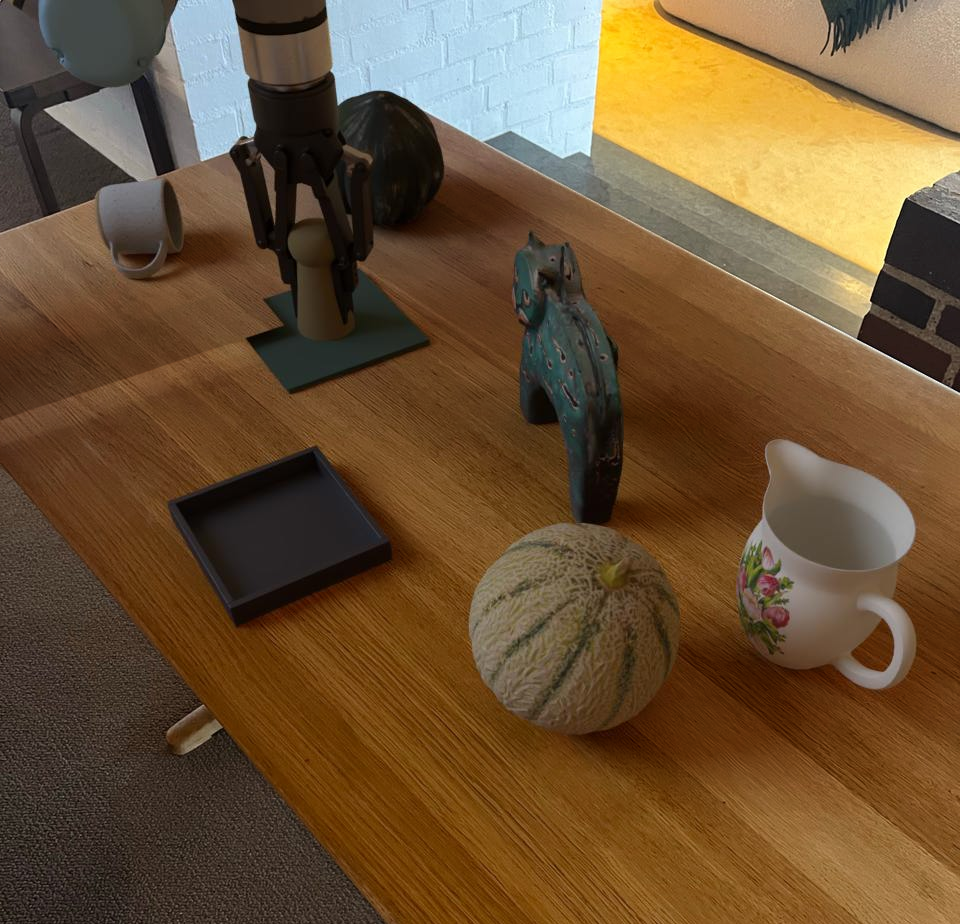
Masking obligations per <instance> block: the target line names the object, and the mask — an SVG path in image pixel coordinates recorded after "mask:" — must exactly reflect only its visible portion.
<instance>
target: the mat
mask: <svg viewBox="0 0 960 924" xmlns="http://www.w3.org/2000/svg"><path fill="white" fill-rule="evenodd" d="M357 268H358V277H359V282H358V285H357V287H356V289H355V291H354V292H353V293H352V298H353V306H354V311H353V316H354V319H355V326H354V328H353V330H352V331H351V332H350V333H349V334H348V335H346V336H344V337H342V338H340V339H336V340H332V341H315V340H311V339H308V338H306V337H304V336H303V335H302V334H300V332H299V330H298V318H296V316H295V310H294V305H293V299H292V293H291V289H290V290H286V291H284V292H280V293H277V294H274V295H271V296H267V297H264V298H262V301H263V302H264V303H265V304H266V305H267V307H268V308H269V309H270V310H271V311H272V313H273V314H274V315H275V316H276V317H277V318H278V320H279V321H280V322H281V323H282V325H280V326H277V327H274V328H271V329H268V330H265V331H263V332H259V333H256V334H253V335H250V336H247V337H245V340H246V341H247V343H248V344H249V345H250V346H251V347H252V349H253V350H254V351H255V353H256V354H257V355H258V356H259V358H260V359H261V360H262V361H263V363H264V364H265V366H266V367H267V368H268V369H269V370H270V372H271V373H272V374H273V375H274V377H275V378H276V379H277V381H278V382H279V383H280V384H281V386H282V387H283V388H284V390H285V391H286V393H288V394H289V395H291V394H294V393H296V392H299V391H302V390H305V389H308V388H310V387H314V386H317V385H318V384H319V385H320V384H321V383H324V382H328V381H330V380H333V379H336V378H339V377H341V376H344V375H347V374H350V373H352V372H355V371H358V370H361V369H363V368H367V367H369V366H372V365H375V364H377V363H381V362H383V361H386V360H389V359H392V358H395V357H397V356H400V355H403V354H406V353H408V352H412V351H414V350H417V349H420V348H423V347H425V346H428V345H430V344H431V340H430V338H429V337H428V336H427V335H426V334H425V333H424V332H423V331H422V330H421V329H420V328H419V327H418V326H417V325H416V324H415V323H414V322H413V321H412V320H411V319H410V318H409V317H408V316H407V315H406V313H404V312H403V311H402V310H401V308H399V306H398V305H396V303H394V301H393V300H392V299H391V298H389V296H387V294H386V293H385V292H384V291H383V290H382V289H381V288H380V287H379V286H378V285H377V284H376V283H375V282H374V281H373V280H372V279H371V278H370V277H369V276H368V274H366V273H365V271H363V270H362V269H361V268H360V267H357Z"/></svg>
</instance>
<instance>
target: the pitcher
mask: <svg viewBox="0 0 960 924" xmlns="http://www.w3.org/2000/svg"><path fill="white" fill-rule="evenodd" d="M764 451H765V452H764V454H765V455H764V458H765V461H766V465H767V470H768V474H769V476H770V477H769V482H768V485H767V488H766V491H765V493H764V496H763V502H762V517H761V520H760V521H759V522H758V524H757V525H756V526H755V527H754V529H753V531H752V532H751V534H750V535H749V537H748V539H747V542H746V544H745V546H744V549H743V551H742V553H741V558H740V560H739V565H738V570H737V574H736V575H737V576H736V592H735V593H736V604H737V605H736V606H737V611H738V615H739V619H740V623H741V626H742V629H743V631H744V633H745V635H746V637H747V638H748V640H749V641H750V643H751V644H752V645H753V646H754V647H755V649H756V650H757V651H758V652H759V654H760V655H762V656H763V657H764V658H765V659H767V660H768V661H769V662H772V663H773V664H775V665H777V666H780V667H783V668H787V669H791V670H809V669H814V668H817V667H821V666H826V665H828V664H829V665H831V666H833V667H834V668H835V669H836V670H837V671H839V672H840V673H841V674H842V675H843V676H844V677H846V678H847V679H848V680H850V681H851V682H852V683H854V684H856V685H858V686H860V687H862V688H865V689H868V690H873V691H883V690H887V689H892V688H894V687H895V686H897V685H898V684H900V683H901V682H902V681H903V680H904V679H905V678H906V676H907V675H908V673H909V671H910V669H911V668H912V667H913V666H912V665H913V663H914V661H915V660H914V659H915V657H916V652H917V635H916V631H915V626H914V624H913V622H912V618H910V616H909V614H908V612H907V611H906V610H905V609H904V608H903V607H902V605H900V604H899V603H897V602H896V601H895V600H893V597H894V596H895V595H894V594H895V591H896V587H897V582H898V572H899V571H898V569H899V564H900V563H901V562H902V561H903V560H904V559H905V558H906V556H907V555H908V553H909V552H910V551H911V549H912V547H913V545H914V544H915V541H916V537H917V525H916V519H915V517H914V514H913V512H912V510H911V508H910V506H908V504H907V503H906V501H905V500H904V499H903V497H901V496H900V495H899V493H898V492H896V491H895V490H894V489H893V488H892V487H891V486H890V485H888V484H887V483H886V482H884V481H882V480H881V479H879V478H877V477H876V476H874V475H872V474H870V473H868V472H867V471H865V470H861V469H859V468H856V467H853V466H850V465H847V464H843V463H840V462H836V461H832V460H829V459H827V458H824V457H822V456H820V455H818V454H817V453H815V452H814V451H812V450H810V449H809V448H807V447H805V446H803V445H801V444H799V443H796V442H794V441H792V440H789V439H783V438H777V439H773V440H771V441H769V442H768V443H767V444H766V446H765V449H764ZM882 619H883V620H884V621H885V622H886V624H887V625H888V627H889V628H890V632H891V634H892V638H893V644H894V646H893V647H894V649H893V655H892V656H893V657H892V659H891V662H890V664H889V665H888V667H887V668H886V669H885V671H880V670H879V671H878V670H874V669H871V668H868V667H866V666H865V665H863V664H862V663H860V662H859V661H858V660H857V659H856V658H855V657H854V656H853V655H852V652H853V651H854V650H855V649H856V648H857V647H859V646H860V645H861V644H862V643H864V641H865V640H867V639H868V638H869V637H870V636H871V635H872V633H873V632H874V630H875V629H876V628H877V627H878V625H879V624H880V623H881V622H882Z"/></svg>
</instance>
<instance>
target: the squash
mask: <svg viewBox="0 0 960 924" xmlns="http://www.w3.org/2000/svg"><path fill="white" fill-rule="evenodd" d="M338 111H339V126H340V129H341V131H342V133H343V135H344V137H345V139H346V142H347V145H349V146H351V147H352V148H354V149H356V150H358V151H360V152H362V153H363V152H364V150H367V149H369V150H371V151H373V153H374V154H375V160H374V164H373V167H372V170H371V173H370V186H371V203H372V220H373V221H374V222H375V223H376V224H378V225H379V226H382V227H385V228H389V227H391V226H393V225H394V224H395V223H396V222H397V221H400V222H403V223H404V222H407V223H408V222H411V221H413V220H415V219H416V218H417V217H418V216H419V214H420V213H421V212H422V211H423V209H424V208H425V207H426V206H428V205H429V204H430V203H431V202H432V200H434V198H435V197H436V195H437V194H438V192H439V190H440V188H441V186H442V184H443V180H444V178H445V177H444V176H445V161H444V155H443V151H442V147H441V144H440V142H439V139H438V135H437V131H436V128H435V126H434V124H433V122H432V120H431V119H430V117H429V116H428V115H427V114H426V113H425V111H423V109H421V108H420V107H419V106H418V105H417V104H415V103H413V102H412V101H410V100H409V99H407V98H406V97H403V96H401V95H400V94H397V93H395V92H392V91H390V90H380V89H378V90H371V91H367V92H365V93H361V94H359V95H355V96H350V97H347V98H346V99H344V100H343V101H341V102H340V103H338ZM335 170H336V174H337V177H338V188H339V191H340V195H341V198H342V201H343V204H344V207H345V211H346V214H347V216H348V215H349V216H350V215H351V201H350V180H351V177H349V176H348V175H347V171H346V164H345V162H344V161H343V160H342V159H341V160H340V161H339V163H338V164H337V166H336V168H335ZM351 216H352V215H351Z"/></svg>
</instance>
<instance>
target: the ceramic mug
mask: <svg viewBox="0 0 960 924" xmlns="http://www.w3.org/2000/svg"><path fill="white" fill-rule="evenodd" d="M93 205H94V207H93V208H94V217H95V222H96V227H97V230H98V233H99V236H100V238H101V241H102V242H103V244H104V246H105V248H107V250H109V251H110V257H111V259H112V262H113V264H114V266H115V267H116V269H117V270H118V272H119V273H120V274H121V275H123V276H125V277H126V278H130V279H134V278H135V280H139V279H140V278H144V279H147V278H150V277H152V276H155V274H157V273H158V272H159V271H160V270H161V269H162V268H163V266H164V264H165V261H166V259H167V254H178V253H181V252H182V250H183V247H184V239H185V238H184V236H185V235H184V222H183V217H182V212H181V208H180V203H179V200H178V197H177V194H176V191H175V188H174V186H173V184H172V183H171V182H170V180H169V179H168V178H163V177H162V178H161V177H160V178H154V179H148V180H141V181H140V180H139V181H133V182H125V183H117V184H115V183H114V184H110V185H106V186H104V187H101V188H100V189H98V190H97V192H96V194H95V197H94V204H93ZM141 254H149V255H150V254H151V255H152V254H154V255H155V254H156V255H155V257H154V258H153V260H152V261H151V262H150V263H148V264H147V265H146V266H144V267H142V268H138V269H137V268H131V267H126V266H125V265H123V264H121V263H120V262H119V261H120V260H119V255H141ZM140 280H141V279H140Z"/></svg>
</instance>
